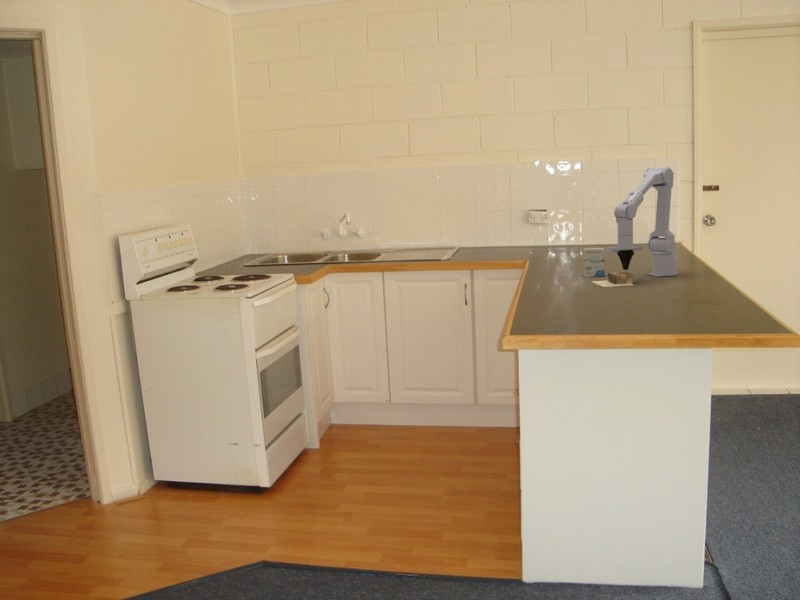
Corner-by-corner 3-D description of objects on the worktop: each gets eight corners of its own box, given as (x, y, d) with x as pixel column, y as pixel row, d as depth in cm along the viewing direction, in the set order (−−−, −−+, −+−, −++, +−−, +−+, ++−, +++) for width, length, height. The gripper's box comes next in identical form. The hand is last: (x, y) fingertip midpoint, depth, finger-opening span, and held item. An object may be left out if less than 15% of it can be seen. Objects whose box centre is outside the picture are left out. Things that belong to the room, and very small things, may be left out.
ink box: (604, 274, 326) (604, 247, 324) (604, 276, 322) (604, 248, 320) (584, 275, 329) (583, 247, 327) (583, 277, 324) (583, 249, 322)
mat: (620, 280, 310) (620, 279, 310) (633, 285, 296) (633, 284, 296) (591, 282, 309) (591, 281, 309) (603, 287, 295) (603, 286, 295)
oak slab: (625, 271, 306) (608, 272, 306) (632, 274, 298) (615, 275, 298) (625, 280, 307) (608, 281, 306) (632, 283, 299) (615, 284, 298)
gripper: (638, 232, 304) (638, 266, 307) (603, 235, 303) (603, 269, 305) (646, 234, 297) (646, 269, 300) (610, 236, 296) (610, 271, 298)
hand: (625, 269), depth 302 cm, fingers closed
